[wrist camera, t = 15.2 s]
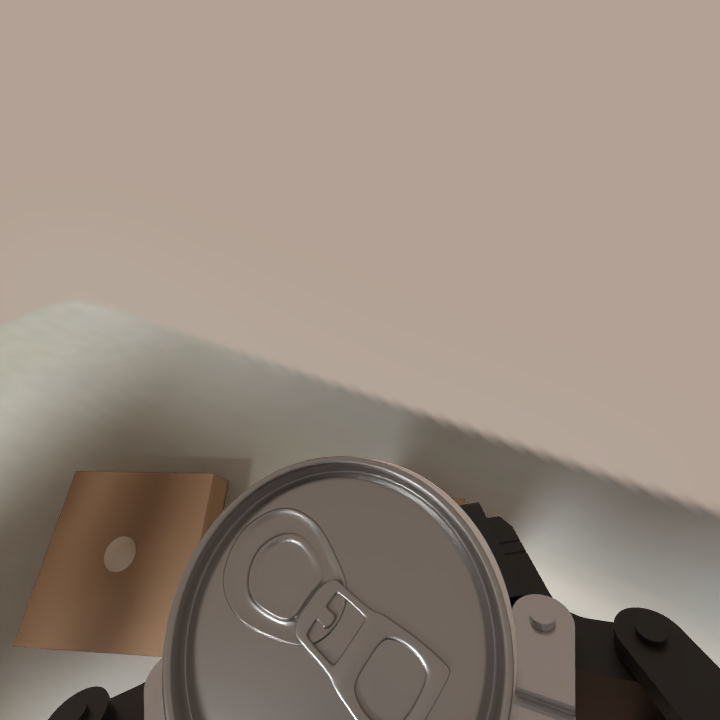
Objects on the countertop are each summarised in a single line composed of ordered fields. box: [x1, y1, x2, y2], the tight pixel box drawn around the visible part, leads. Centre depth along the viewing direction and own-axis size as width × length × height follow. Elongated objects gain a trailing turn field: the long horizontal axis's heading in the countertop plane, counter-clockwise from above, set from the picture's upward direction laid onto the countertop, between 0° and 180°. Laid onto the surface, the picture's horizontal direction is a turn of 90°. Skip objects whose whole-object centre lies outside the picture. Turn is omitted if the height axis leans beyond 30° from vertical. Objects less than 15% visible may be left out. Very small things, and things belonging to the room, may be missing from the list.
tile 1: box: [13, 471, 228, 657], centre depth 21 cm, size 8×8×2 cm
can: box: [162, 456, 517, 720], centre depth 12 cm, size 6×6×12 cm
